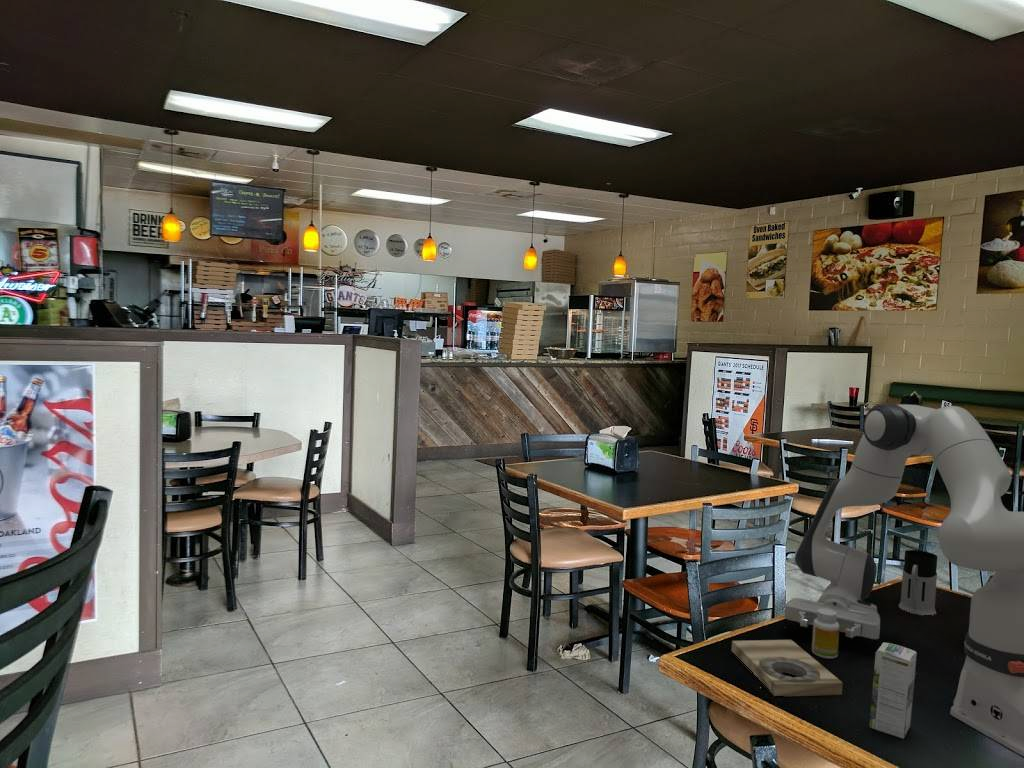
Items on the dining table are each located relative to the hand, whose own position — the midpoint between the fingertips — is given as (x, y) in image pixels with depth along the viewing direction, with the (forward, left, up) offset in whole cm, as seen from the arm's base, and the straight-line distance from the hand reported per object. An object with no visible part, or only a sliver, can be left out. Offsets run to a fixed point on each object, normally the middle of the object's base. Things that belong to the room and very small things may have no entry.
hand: (826, 628), depth 157 cm
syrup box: (-30, +5, -6) cm, 31 cm away
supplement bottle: (0, 0, -6) cm, 6 cm away
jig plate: (-8, +14, -6) cm, 17 cm away
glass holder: (+23, -39, -6) cm, 46 cm away
